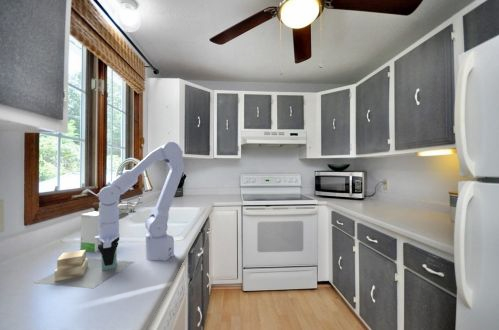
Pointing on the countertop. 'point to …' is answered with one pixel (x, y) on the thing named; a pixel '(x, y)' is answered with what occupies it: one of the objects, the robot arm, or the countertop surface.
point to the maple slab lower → (71, 272)
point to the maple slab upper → (71, 259)
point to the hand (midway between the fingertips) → (109, 262)
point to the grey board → (88, 275)
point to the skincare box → (89, 231)
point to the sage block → (112, 264)
